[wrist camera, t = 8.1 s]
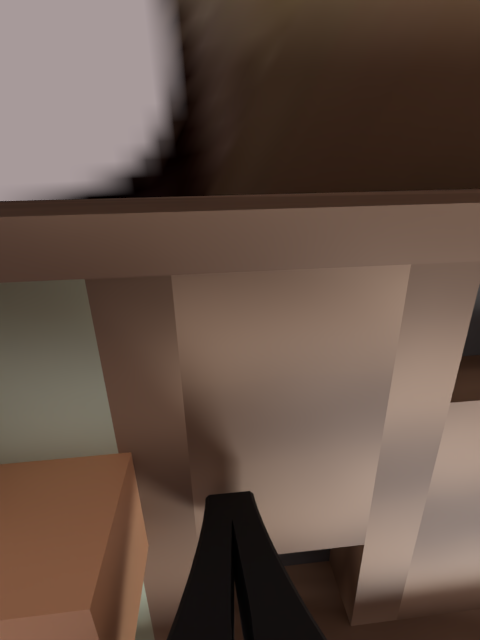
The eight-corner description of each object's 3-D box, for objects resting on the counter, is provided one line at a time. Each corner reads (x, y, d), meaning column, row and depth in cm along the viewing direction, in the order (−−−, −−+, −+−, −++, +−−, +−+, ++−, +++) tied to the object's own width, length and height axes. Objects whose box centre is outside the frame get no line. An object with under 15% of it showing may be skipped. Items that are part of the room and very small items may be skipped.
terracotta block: (148, 546, 12) (123, 716, 8) (23, 560, 11) (-64, 745, 8) (131, 452, 10) (89, 609, 6) (-14, 465, 10) (-145, 638, 6)
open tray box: (626, 532, 19) (780, 659, 14) (61, 599, 17) (-2, 784, 12) (828, 179, 12) (1264, 179, 7) (-75, 203, 10) (-371, 228, 5)
